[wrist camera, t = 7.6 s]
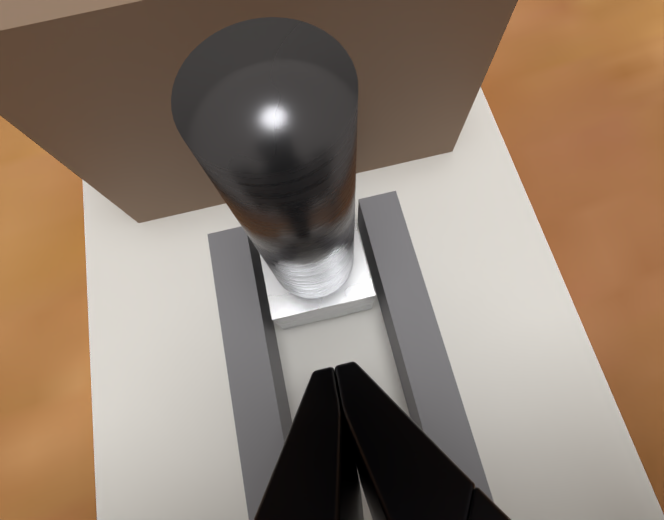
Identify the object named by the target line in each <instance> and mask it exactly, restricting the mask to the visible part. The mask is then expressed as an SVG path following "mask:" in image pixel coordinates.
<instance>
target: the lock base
mask: <svg viewBox="0 0 664 520" xmlns="http://www.w3.org/2000/svg"><path fill="white" fill-rule="evenodd" d="M517 1H518V0H0V115H1V116H2V117H3V118H4V119H6V120H7V121H8V122H10V123H11V124H12V125H13V126H15V127H16V128H17V129H19V130H20V131H21V132H22V133H24V134H25V135H26V136H27V137H29V138H30V139H31V140H33V141H34V142H35V143H36V144H38V145H39V146H40V147H42V148H43V149H44V150H45V151H47V152H48V153H49V154H51V155H52V156H53V157H54V158H56V159H57V160H58V161H60V162H61V163H62V164H63V165H65V166H66V167H67V168H68V169H70V170H71V171H72V172H74V173H75V174H76V175H77V176H79V177H80V178H81V179H83V200H84V224H85V247H86V271H87V295H88V319H89V342H90V366H91V390H92V413H93V437H94V461H95V484H96V508H97V520H253V519H254V517H255V514H256V512H257V509H258V507H259V504H260V502H261V499H262V497H263V494H264V492H265V489H266V487H267V484H268V482H269V479H270V477H271V474H272V472H273V469H274V467H275V464H276V462H277V459H278V457H279V454H280V452H281V449H282V447H283V445H284V442H285V440H286V437H287V435H288V432H289V430H290V427H291V425H292V422H293V420H294V417H295V415H296V412H297V410H298V407H299V405H300V402H301V400H302V397H303V395H304V392H305V390H306V387H307V385H308V382H309V380H310V377H311V375H312V373H313V372H314V371H315V370H319V369H323V368H327V367H333V368H334V370H335V367H336V366H337V365H340V364H344V363H348V362H356V363H357V364H358V365H359V366H360V367H361V368H362V369H363V370H364V371H365V372H366V373H367V374H368V375H369V376H370V377H371V378H372V379H373V380H374V381H375V382H376V383H377V384H378V385H379V386H380V387H381V388H382V389H383V390H384V391H385V392H386V394H387V395H388V396H389V397H390V398H391V399H392V400H393V401H394V402H395V403H396V404H397V405H398V406H399V407H400V408H401V409H402V410H403V411H404V412H405V413H406V414H407V415H408V416H409V417H410V418H411V419H412V420H413V421H414V422H415V423H416V424H417V425H418V426H419V427H420V428H421V429H422V430H423V431H424V432H425V433H426V434H427V435H428V436H429V437H430V438H431V439H432V440H433V441H434V442H435V443H436V444H437V445H438V446H439V447H440V449H441V450H442V451H443V452H444V453H445V454H446V455H447V456H448V457H449V458H450V459H451V460H452V461H453V462H454V463H455V464H456V465H457V466H458V467H459V468H460V469H461V470H462V471H463V472H464V473H465V474H466V475H467V476H468V477H469V478H470V479H471V480H472V481H473V482H474V483H475V488H476V487H479V488H480V489H481V490H482V491H483V492H484V493H485V494H486V495H487V496H488V497H489V498H490V499H491V500H492V501H493V502H494V503H495V504H496V505H497V506H498V507H499V508H500V509H501V510H502V511H503V512H504V513H505V514H506V515H507V516H508V517H509V518H510V519H511V520H664V514H663V512H662V509H661V507H660V505H659V502H658V500H657V498H656V495H655V493H654V491H653V488H652V486H651V484H650V481H649V479H648V477H647V474H646V472H645V470H644V467H643V465H642V463H641V460H640V458H639V456H638V453H637V451H636V449H635V446H634V444H633V442H632V439H631V437H630V435H629V432H628V430H627V428H626V425H625V423H624V421H623V418H622V416H621V414H620V411H619V409H618V407H617V404H616V402H615V400H614V397H613V395H612V393H611V390H610V388H609V386H608V383H607V381H606V379H605V376H604V374H603V372H602V369H601V367H600V365H599V362H598V360H597V358H596V355H595V353H594V351H593V348H592V346H591V344H590V341H589V339H588V337H587V334H586V332H585V329H584V327H583V325H582V322H581V320H580V318H579V315H578V313H577V311H576V308H575V306H574V304H573V301H572V299H571V297H570V294H569V292H568V290H567V287H566V285H565V283H564V280H563V278H562V276H561V273H560V271H559V269H558V266H557V264H556V262H555V259H554V257H553V255H552V252H551V250H550V248H549V245H548V243H547V241H546V238H545V236H544V234H543V231H542V229H541V227H540V224H539V222H538V220H537V217H536V215H535V213H534V210H533V208H532V206H531V203H530V201H529V199H528V196H527V194H526V192H525V189H524V187H523V185H522V182H521V180H520V178H519V175H518V173H517V171H516V168H515V166H514V164H513V161H512V159H511V157H510V154H509V152H508V150H507V147H506V145H505V143H504V140H503V138H502V136H501V133H500V131H499V129H498V126H497V124H496V122H495V119H494V117H493V115H492V112H491V110H490V108H489V105H488V103H487V101H486V98H485V96H484V94H483V91H482V89H481V84H482V82H483V80H484V77H485V75H486V73H487V71H488V68H489V66H490V64H491V61H492V59H493V57H494V54H495V52H496V50H497V47H498V45H499V43H500V40H501V38H502V36H503V34H504V31H505V29H506V27H507V24H508V22H509V20H510V17H511V15H512V13H513V10H514V8H515V6H516V3H517ZM265 17H281V18H289V19H295V20H299V21H303V22H306V23H309V24H311V25H314V26H316V27H318V28H320V29H322V30H324V31H325V32H327V33H328V34H330V35H331V36H332V37H334V38H335V39H336V40H337V41H338V42H339V43H340V44H341V45H342V46H343V48H344V49H345V50H346V51H347V53H348V55H349V56H350V58H351V60H352V62H353V64H354V67H355V69H356V74H357V78H358V120H357V156H356V192H355V222H356V225H357V229H358V233H359V236H360V240H361V244H362V247H363V251H364V255H365V258H366V262H367V266H368V269H369V273H370V277H371V280H372V284H373V288H374V291H375V299H374V303H373V306H372V309H368V310H364V311H360V312H355V313H351V314H347V315H343V316H339V317H335V318H330V319H326V320H322V321H318V322H314V323H309V324H305V325H301V326H297V327H293V328H289V329H284V330H283V329H282V328H281V327H280V326H278V325H277V324H276V323H275V322H274V321H273V320H272V317H271V312H270V306H269V301H268V296H267V290H266V285H265V280H264V274H263V269H262V264H261V258H260V253H259V252H258V250H257V249H256V247H255V246H254V244H253V243H252V241H251V240H250V238H249V237H248V235H247V234H246V232H245V231H244V229H243V228H242V226H241V225H240V223H239V222H238V220H237V219H236V217H235V216H234V214H233V213H232V211H231V210H230V208H229V207H228V205H227V204H226V202H225V201H224V200H223V198H222V197H221V195H220V194H219V192H218V191H217V189H216V188H215V186H214V185H213V183H212V182H211V180H210V179H209V177H208V176H207V174H206V173H205V171H204V170H203V168H202V167H201V165H200V164H199V162H198V161H197V159H196V158H195V156H194V155H193V153H192V152H191V150H190V149H189V147H188V146H187V144H186V143H185V141H184V140H183V138H182V137H181V135H180V133H179V132H178V130H177V128H176V125H175V122H174V120H173V115H172V110H171V95H172V88H173V84H174V81H175V78H176V76H177V73H178V71H179V69H180V67H181V66H182V64H183V62H184V61H185V59H186V58H187V57H188V56H189V54H190V53H191V52H192V51H193V50H194V49H195V48H196V47H197V46H198V45H199V44H200V43H201V42H203V41H204V40H205V39H206V38H208V37H209V36H211V35H213V34H214V33H216V32H217V31H219V30H221V29H223V28H225V27H228V26H230V25H233V24H235V23H238V22H242V21H246V20H250V19H256V18H265ZM357 471H358V470H357ZM358 476H359V474H358ZM359 482H360V478H359ZM360 488H361V496H362V506H363V516H364V520H373V519H372V516H371V513H370V510H369V507H368V504H367V501H366V498H365V495H364V492H363V489H362V486H361V482H360Z"/></svg>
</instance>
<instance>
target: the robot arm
mask: <svg viewBox="0 0 664 520" xmlns="http://www.w3.org/2000/svg"><path fill="white" fill-rule="evenodd" d="M357 470H358V471H357ZM358 474H359V476H358ZM359 478H360V482H361V486H362V489H363V492H364V495H365V498H366V501H367V504H368V507H369V510H370V513H371V516H372V519H373V520H511V519H510V518H509V517H508V516H507V515H506V514H505V513H504V512H503V511H502V510H501V509H500V508H499V507H498V506H497V505H496V504H495V503H494V502H493V501H492V500H491V499H490V498H489V497H488V496H487V495H486V494H485V493H484V492H483V491H482V490H481V489H480V488H479V487H476V488H475V483H474V482H473V481H472V480H471V479H470V478H469V477H468V476H467V475H466V474H465V473H464V472H463V471H462V470H461V469H460V468H459V467H458V466H457V465H456V464H455V463H454V462H453V461H452V460H451V459H450V458H449V457H448V456H447V455H446V454H445V453H444V452H443V451H442V450H441V449H440V447H439V446H438V445H437V444H436V443H435V442H434V441H433V440H432V439H431V438H430V437H429V436H428V435H427V434H426V433H425V432H424V431H423V430H422V429H421V428H420V427H419V426H418V425H417V424H416V423H415V422H414V421H413V420H412V419H411V418H410V417H409V416H408V415H407V414H406V413H405V412H404V411H403V410H402V409H401V408H400V407H399V406H398V405H397V404H396V403H395V402H394V401H393V400H392V399H391V398H390V397H389V396H388V395H387V394H386V392H385V391H384V390H383V389H382V388H381V387H380V386H379V385H378V384H377V383H376V382H375V381H374V380H373V379H372V378H371V377H370V376H369V375H368V374H367V373H366V372H365V371H364V370H363V369H362V368H361V367H360V366H359V365H358V364H357V363H356V362H348V363H344V364H340V365H337V366H336V367H335V370H334V368H333V367H327V368H323V369H319V370H315V371H314V372H313V373H312V375H311V377H310V380H309V382H308V385H307V387H306V390H305V392H304V395H303V397H302V400H301V402H300V405H299V407H298V410H297V412H296V415H295V417H294V420H293V422H292V425H291V427H290V430H289V432H288V435H287V437H286V440H285V442H284V445H283V447H282V449H281V452H280V454H279V457H278V459H277V462H276V464H275V467H274V469H273V472H272V474H271V477H270V479H269V482H268V484H267V487H266V489H265V492H264V494H263V497H262V499H261V502H260V504H259V507H258V509H257V512H256V514H255V517H254V519H253V520H364V516H363V506H362V496H361V488H360V482H359Z"/></svg>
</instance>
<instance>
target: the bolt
mask: <svg viewBox="0 0 664 520" xmlns="http://www.w3.org/2000/svg"><path fill="white" fill-rule="evenodd" d="M171 110H172V115H173V120H174V122H175V125H176V128H177V130H178V132H179V133H180V135H181V137H182V138H183V140H184V141H185V143H186V144H187V146H188V147H189V149H190V150H191V152H192V153H193V155H194V156H195V158H196V159H197V161H198V162H199V164H200V165H201V167H202V168H203V170H204V171H205V173H206V174H207V176H208V177H209V179H210V180H211V182H212V183H213V185H214V186H215V188H216V189H217V191H218V192H219V194H220V195H221V197H222V198H223V200H224V201H225V202H226V204H227V205H228V207H229V208H230V210H231V211H232V213H233V214H234V216H235V217H236V219H237V220H238V222H239V223H240V225H241V226H242V228H243V229H244V231H245V232H246V234H247V235H248V237H249V238H250V240H251V241H252V243H253V244H254V246H255V247H256V249H257V250H258V252H259V253H260V258H261V264H262V269H263V274H264V280H265V285H266V290H267V296H268V301H269V306H270V312H271V317H272V320H273V321H274V322H275V323H276V324H277V325H278V326H280V327H281V328H282V329H283V330H284V329H289V328H293V327H297V326H301V325H305V324H309V323H314V322H318V321H322V320H326V319H330V318H335V317H339V316H343V315H347V314H351V313H355V312H360V311H364V310H368V309H372V306H373V303H374V299H375V291H374V288H373V284H372V280H371V277H370V273H369V269H368V266H367V262H366V258H365V255H364V251H363V247H362V244H361V240H360V236H359V233H358V229H357V225H356V222H355V192H356V156H357V120H358V78H357V74H356V69H355V67H354V64H353V62H352V60H351V58H350V56H349V55H348V53H347V51H346V50H345V49H344V48H343V46H342V45H341V44H340V43H339V42H338V41H337V40H336V39H335V38H334V37H332V36H331V35H330V34H328V33H327V32H325V31H324V30H322V29H320V28H318V27H316V26H314V25H311V24H309V23H306V22H303V21H299V20H295V19H289V18H281V17H265V18H256V19H250V20H246V21H242V22H238V23H235V24H233V25H230V26H228V27H225V28H223V29H221V30H219V31H217V32H216V33H214V34H213V35H211V36H209V37H208V38H206V39H205V40H204V41H203V42H201V43H200V44H199V45H198V46H197V47H196V48H195V49H194V50H193V51H192V52H191V53H190V54H189V56H188V57H187V58H186V59H185V61H184V62H183V64H182V66H181V67H180V69H179V71H178V73H177V76H176V78H175V81H174V84H173V88H172V95H171Z"/></svg>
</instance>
